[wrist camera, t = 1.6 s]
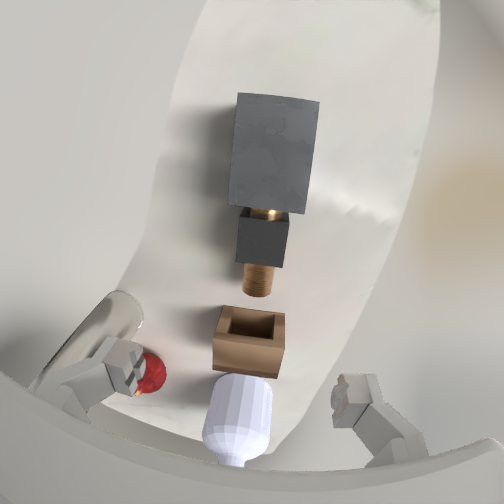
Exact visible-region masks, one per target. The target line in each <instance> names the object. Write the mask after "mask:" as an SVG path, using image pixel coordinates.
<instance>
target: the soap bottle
mask: <svg viewBox="0 0 504 504" xmlns="http://www.w3.org/2000/svg"><path fill="white" fill-rule="evenodd" d="M271 409H272V390H271V387H270V385H269V384H268V383H267V382H266V381H265V380H263V379H261V378H259V377H256V376H248V375H241V374H235V373H232V374H226V375H224V376H222V377H221V378H219V379H218V380H217V382H216V383H215V385H214V389H213V392H212V396H211V400H210V404H209V408H208V412H207V415H206V419H205V423H204V427H203V431H202V438H203V443H204V444H205V445H206V447H207V448H208V449H210V451H211V452H212V453H214V454H215V455H217V456H218V457H219V461H218V464H224V465H230V466H237V467H244V462H245V461H246V460H249V459H253V458H255V457H257V456H259V455H261V454H262V453H264V452H265V450H266V448H267V446H268V444H269V437H270V423H271Z"/></svg>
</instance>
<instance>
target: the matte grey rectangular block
mask: <svg viewBox="0 0 504 504" xmlns="http://www.w3.org/2000/svg"><path fill="white" fill-rule="evenodd" d="M319 103H320V102H316V101H311V100H304V99H298V98H290V97H283V96H274V95H264V94H253V93H238V96H237V105H236V115H235V125H234V135H233V145H232V156H231V167H230V178H229V190H228V203H227V205H235V206H244V207H252V208H260V209H268V210H276V211H283V212H291V213H298V214H304V213H305V206H306V200H307V194H308V187H309V180H310V174H311V167H312V159H313V152H314V144H315V137H316V129H317V120H318V112H319Z"/></svg>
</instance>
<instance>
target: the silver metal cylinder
mask: <svg viewBox="0 0 504 504" xmlns="http://www.w3.org/2000/svg"><path fill="white" fill-rule="evenodd" d="M143 320H144V314H143V311H142V309H141V307H140V305H139V304H138V303H137V301H136V300H135V299H134V298H132V297H131V296H130V295H128V294H126V293H124V292H121V291H113V292H110V293H109V294H108V295H107V296H106V297H105V298H104V299H103V300H102V301H101V302H100V303H99V304H98V305H97V307H96V308H95V309H94V310H93V311H92V312H91V313H90V314H89V315H88V316H87V317H86V319H85V320H84V321H83V322H82V323H81V324H80V325H79V327H78V328H77V329H76V330H75V331H74V332H73V333H72V335H71V336H70V337H69V338H68V339H67V340H66V342H65V343H64V344H63V345H62V346H61V347H60V349H59V350H58V351H57V352H56V354H55V355H54V356H53V357H52V358H51V360H50V361H49V362H48V363H47V365H46V366H45V367H44V368H43V370H42V371H41V372H40V374H39V375H38V376H37V377H36V379H35V380H34V381H33V383H32V384H31V385H30V387H29V388H28V389H27V390H29V391H30V392H32V393H34V392H35V390H36V389H37V388H38V386H39V385H40V384H41V382H42V381H43V380H44V378H45V377H46V376H47V375H48V374H51V373H53V372H55V371H58V370H60V369H63V368H65V367H68V366H70V365H72V364H75V363H77V362H79V361H82V360H84V359H86V358H92V357H93V355H94V354H95V353H96V351H97V350H98V349H99V347H100V346H101V345H102V343H103V342H104V341H105V339H106V338H107V337H108V336H110V335H112V336H115V337H118V338H122V339H125V340H128V341H131V340H132V339H133V337H134V335H135V334H136V332H137V331H138V329H139V328H140V326H141V325H142V324H143ZM88 410H89V409H88ZM88 410H87V411H85V413H86V414H87V412H88Z"/></svg>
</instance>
